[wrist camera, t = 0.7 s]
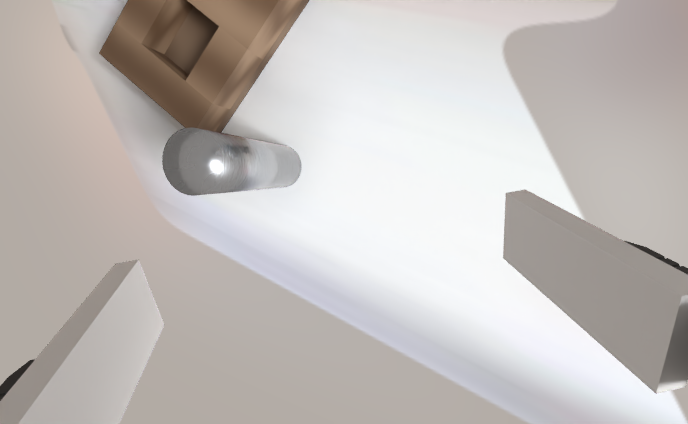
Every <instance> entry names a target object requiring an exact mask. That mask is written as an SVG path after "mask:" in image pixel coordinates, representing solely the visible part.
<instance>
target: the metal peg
mask: <svg viewBox="0 0 688 424" xmlns="http://www.w3.org/2000/svg"><path fill="white" fill-rule="evenodd" d="M162 162H163V169H164V172H165V175H166V177H167V179H168V181H169V182H170V184H171V185H172V186H173V187H174V188H175V189H177V190H178V191H180V192H181V193H184V194H187V195H204V194H215V193H226V192H237V191H248V190H259V189H270V188H282V187H288V186H290V185H292V184H293V183H295V182H296V180H297V179H298V178H299V176H300V173H301V160H300V158H299V156H298V154H297V153H296V151H294V150H293V149H292V148H290V147H288V146H284V145H279V144H274V143H269V142H264V141H259V140H254V139H249V138H244V137H239V136H234V135H229V134H224V133H218V132H213V131H208V130H203V129H198V128H184V129H181V130H179V131H177V132H176V133H175V134H173V135H172V136H171V137H170V139H169V140H168V142H167V143H166V145H165V148H164V152H163V160H162Z"/></svg>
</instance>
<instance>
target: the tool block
mask: <svg viewBox="0 0 688 424" xmlns="http://www.w3.org/2000/svg"><path fill="white" fill-rule="evenodd" d="M308 1H309V0H128V2H127V3H126V5H125V7H124V9H123V11H122V12H121V14H120V16H119V18H118V20H117V22H116V23H115V25H114V27H113V29H112V31H111V32H110V34H109V36H108V38H107V40H106V42H105V43H104V45H103V47H102V49H101V51H100V52H99V54H100V55H101V56H103V57H104V58H105V59H106V60H107V61H108V62H110V63H111V64H112V65H113V66H114V67H115V68H117V69H118V70H119V71H120V72H121V73H122V74H124V75H125V76H126V77H127V78H128V79H129V80H131V81H132V82H133V83H134V84H135V85H136V86H138V87H139V88H140V89H141V90H142V91H143V92H145V93H146V94H147V95H148V96H149V97H150V98H151V99H153V100H154V101H155V102H156V103H157V104H158V105H160V106H161V107H162V108H163V109H164V110H165V111H167V112H168V113H169V114H170V115H171V116H172V117H174V118H175V119H176V120H177V121H178V122H179V123H181V124H182V125H183V126H184V127H185V128H198V129H203V130H208V131H213V132H218V133H221V132H222V130H223V129H224V127H225V126H226V124H227V123H228V121H229V120H230V118H231V117H232V115H233V114H234V112H235V111H236V109H237V108H238V106H239V105H240V103H241V102H242V100H243V99H244V97H245V96H246V94H247V93H248V91H249V90H250V88H251V87H252V85H253V84H254V82H255V81H256V79H257V78H258V76H259V75H260V73H261V72H262V70H263V69H264V67H265V66H266V64H267V63H268V61H269V60H270V58H271V57H272V55H273V54H274V52H275V51H276V49H277V48H278V46H279V45H280V43H281V42H282V40H283V39H284V37H285V36H286V34H287V33H288V31H289V30H290V28H291V27H292V25H293V24H294V22H295V21H296V19H297V18H298V16H299V15H300V13H301V12H302V10H303V9H304V7H305V6H306V4H307V3H308Z"/></svg>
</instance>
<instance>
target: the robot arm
mask: <svg viewBox="0 0 688 424" xmlns="http://www.w3.org/2000/svg"><path fill="white" fill-rule="evenodd" d="M503 258H504V259H505V260H506V261H507V262H508V263H509V264H510V265H512V266H513V267H514V268H515V269H516V270H517V271H518V272H519V273H521V274H522V275H523V276H524V277H525V278H526V279H527V280H528V281H530V282H531V283H532V284H533V285H534V286H535V287H536V288H537V289H539V290H540V291H541V292H542V293H543V294H544V295H545V296H546V297H548V298H549V299H550V300H551V301H552V302H553V303H554V304H556V305H557V306H558V307H559V308H560V309H561V310H562V311H563V312H565V313H566V314H567V315H568V316H569V317H570V318H571V319H572V320H574V321H575V322H576V323H577V324H578V325H579V326H580V327H581V328H583V329H584V330H585V331H586V332H587V333H588V334H589V335H590V336H592V337H593V338H594V339H595V340H596V341H597V342H598V343H599V344H601V345H602V346H603V347H604V348H605V349H606V350H607V351H608V352H610V353H611V354H612V355H613V356H614V357H615V358H616V359H617V360H619V361H620V362H621V363H622V364H623V365H624V366H625V367H627V368H628V369H629V370H630V371H631V372H632V373H633V374H634V375H636V376H637V377H638V378H639V379H640V380H641V381H642V382H643V383H645V384H646V385H647V386H648V387H649V388H650V389H651V390H652V391H654V392H655V393H656V394H657V393H662V392H666V391H670V390H674V389H678V388H682V387H686V384H687V380H688V268H686V267H684V266H681V267H680V266H679V264H678V263H676V262H674V261H672V260H670V259H668V258H667V259H665V258H664V256H662V255H660V254H658V253H656V252H654V251H652V250H650V249H649V248H647V247H643V246H640V245H637V244H634V243H630V242H627V241H623V240H621V239H618V238H617V237H615V236H613V235H611V234H609V233H607V232H605V231H603V230H602V229H600V228H598V227H596V226H594V225H592V224H590V223H588V222H586V221H584V220H582V219H580V218H579V217H577V216H575V215H573V214H571V213H569V212H567V211H565V210H563V209H561V208H559V207H558V206H556V205H554V204H552V203H550V202H548V201H546V200H544V199H542V198H540V197H538V196H537V195H535V194H533V193H531V192H529V191H527V190H521V191H515V192H510V193H506V202H505V227H504V252H503ZM163 327H164V323H163V320H162V318H161V315H160V312H159V310H158V307H157V305H156V302H155V300H154V297H153V295H152V292H151V289H150V287H149V285H148V282H147V279H146V277H145V274H144V272H143V269H142V266H141V264H140V261H139V260H133V261H128V262H122V263H117V264H115V265H114V266H113V267H112V268H111V270H110V271H109V272H108V273H107V274H106V275H105V277H104V278H103V279H102V280H101V281H100V283H99V284H98V285H97V287H95V289H94V290H93V291H92V292H91V294H90V295H89V296H88V297H87V298H86V300H85V301H84V302H83V303H82V304H81V305H80V307H79V308H78V309H77V310H76V311H75V313H74V314H73V315H72V316H71V317H70V319H69V320H68V321H67V322H66V323H65V325H64V326H63V327H62V328H61V329H60V330H59V332H58V333H57V334H56V335H55V336H54V338H53V339H52V340H51V341H50V342H49V344H48V345H47V346H46V347H45V348H44V350H43V351H42V352H41V353H40V354H39V356H38V357H37V358H36V359H35V360H30V361H28V362H27V363H26V364H25V365H23V366H22V367H21V368H19V369H18V370H17V371H16V372H14V373H13V374H12V375H10V376H9V377H8V378H7V379H6V380H5V381H4V383H3V384H2V385H1V386H0V424H119V423H120V421H121V419H122V417H123V415H124V413H125V410H126V408H127V406H128V404H129V402H130V399H131V397H132V395H133V393H134V391H135V388H136V386H137V384H138V382H139V379H140V377H141V375H142V373H143V371H144V369H145V366H146V364H147V362H148V360H149V358H150V355H151V353H152V351H153V349H154V347H155V344H156V342H157V340H158V338H159V336H160V333H161V331H162V329H163Z"/></svg>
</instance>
